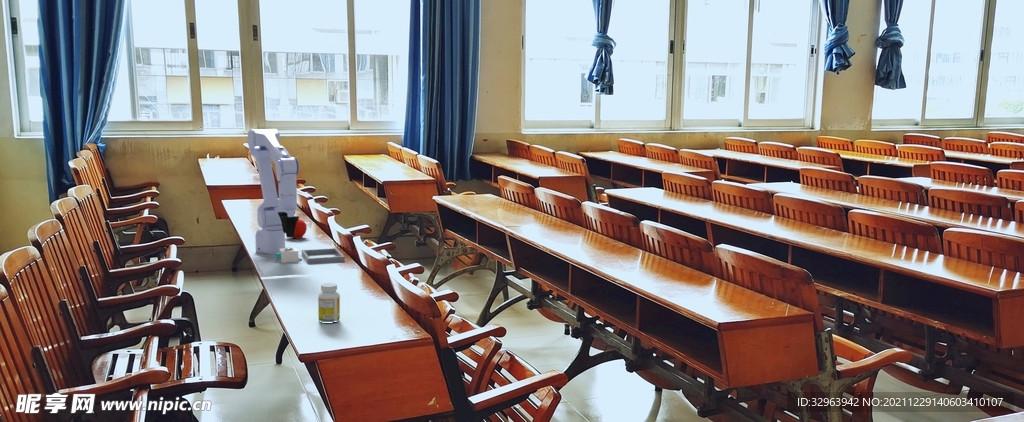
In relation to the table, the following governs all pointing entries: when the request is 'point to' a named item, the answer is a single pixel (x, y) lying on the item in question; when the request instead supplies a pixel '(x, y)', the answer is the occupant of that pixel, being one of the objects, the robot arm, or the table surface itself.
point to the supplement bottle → (329, 303)
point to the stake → (288, 262)
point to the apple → (300, 229)
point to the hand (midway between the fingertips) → (288, 235)
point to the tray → (323, 259)
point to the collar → (288, 255)
